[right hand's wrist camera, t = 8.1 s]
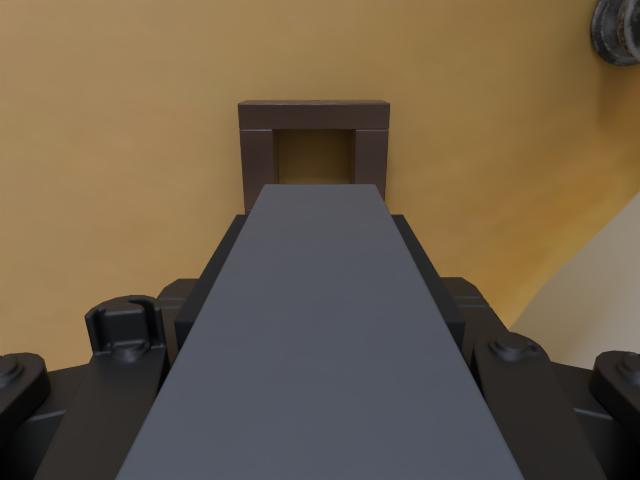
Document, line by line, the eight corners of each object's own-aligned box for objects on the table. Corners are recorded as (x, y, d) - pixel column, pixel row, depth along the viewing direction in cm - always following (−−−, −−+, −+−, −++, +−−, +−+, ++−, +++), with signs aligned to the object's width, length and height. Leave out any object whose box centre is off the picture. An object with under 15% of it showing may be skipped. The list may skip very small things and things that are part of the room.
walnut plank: (364, 454, 39) (380, 573, 30) (266, 455, 39) (251, 574, 30) (383, 100, 28) (416, 113, 19) (245, 100, 28) (209, 113, 18)
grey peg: (370, 283, 17) (475, 711, 5) (268, 283, 17) (163, 710, 5) (375, 183, 15) (530, 485, 4) (264, 183, 15) (108, 486, 4)
